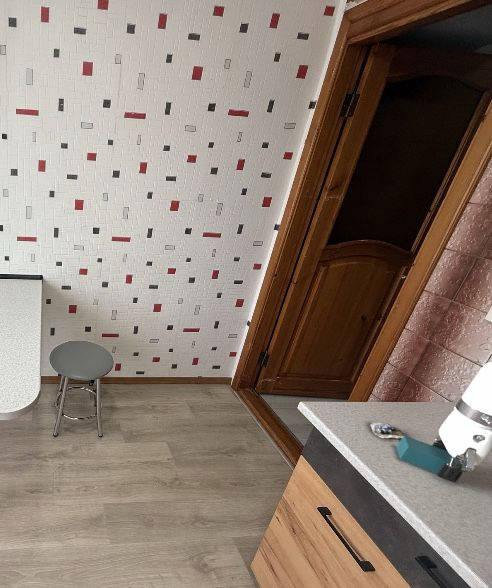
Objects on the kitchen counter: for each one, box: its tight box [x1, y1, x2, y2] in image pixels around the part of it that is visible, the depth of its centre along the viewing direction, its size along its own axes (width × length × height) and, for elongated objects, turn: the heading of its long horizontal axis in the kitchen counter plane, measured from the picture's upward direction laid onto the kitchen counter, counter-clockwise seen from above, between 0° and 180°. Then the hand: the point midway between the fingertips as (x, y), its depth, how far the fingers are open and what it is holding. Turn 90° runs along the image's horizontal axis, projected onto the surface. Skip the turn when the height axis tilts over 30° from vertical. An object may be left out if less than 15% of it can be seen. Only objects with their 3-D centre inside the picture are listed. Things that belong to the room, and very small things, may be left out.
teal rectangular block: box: [395, 434, 462, 474], centre depth 83 cm, size 10×4×4 cm, turn 58°
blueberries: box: [370, 421, 404, 440], centre depth 93 cm, size 7×8×2 cm
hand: (440, 466), depth 83 cm, fingers open, 6 cm apart
